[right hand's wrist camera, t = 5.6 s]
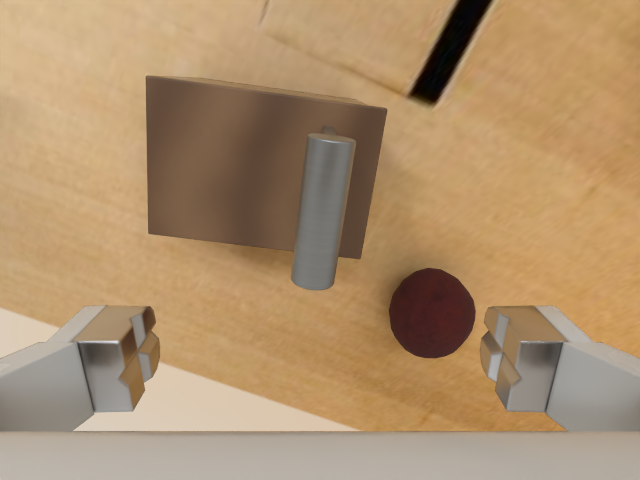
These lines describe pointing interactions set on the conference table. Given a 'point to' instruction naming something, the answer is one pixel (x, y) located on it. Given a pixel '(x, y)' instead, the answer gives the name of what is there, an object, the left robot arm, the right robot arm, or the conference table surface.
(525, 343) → the right robot arm
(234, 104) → the lid
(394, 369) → the conference table surface
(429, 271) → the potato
